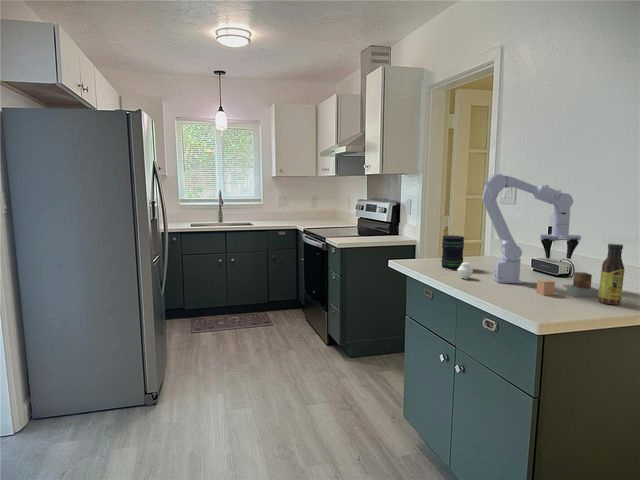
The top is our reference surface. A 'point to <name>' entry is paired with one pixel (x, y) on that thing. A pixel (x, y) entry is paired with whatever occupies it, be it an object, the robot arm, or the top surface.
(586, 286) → the walnut block
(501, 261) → the robot arm
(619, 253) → the sauce bottle
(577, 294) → the pedestal block
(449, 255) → the storage jar
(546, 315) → the top surface
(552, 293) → the terracotta block
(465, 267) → the white rounded piece
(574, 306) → the top surface
